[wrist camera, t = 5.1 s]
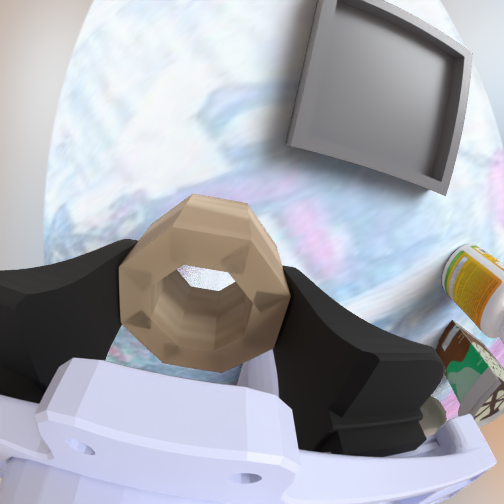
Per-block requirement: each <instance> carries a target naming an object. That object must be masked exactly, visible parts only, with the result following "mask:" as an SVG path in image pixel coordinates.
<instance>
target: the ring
mask: <svg viewBox="0 0 504 504" xmlns="http://www.w3.org/2000/svg"><path fill="white" fill-rule="evenodd" d="M182 265H189V266H195V267H200V268H206V269H212V270H218V271H224V272H228V273H229V274H230V275H231V276H232V278H233V279H234V280H235V281H236V282H234V283H232V284H231V285H229V286H227V287H226V288H224V289H222V290H221V291H214V290H208V289H202V288H196V287H191V286H190V285H189V284H188V283H187V281H186V280H185V279H184V278H183V277H182V276H181V274H180V273H179V272H178V271H177V270H176V269H178V268H179V267H181V266H182ZM119 295H120V316H121V324H122V325H123V326H124V327H125V328H126V329H127V330H128V331H129V332H130V333H131V334H133V335H134V336H135V337H136V338H137V339H138V340H139V341H140V342H141V343H142V344H143V345H144V346H145V347H146V348H147V349H148V350H149V351H150V352H152V353H153V354H154V355H155V356H156V357H157V358H158V359H159V360H160V361H161V362H163V363H165V364H171V365H176V366H182V367H187V368H193V369H200V370H206V371H213V372H220V373H223V372H225V371H227V370H229V369H232V368H234V367H236V366H238V365H240V364H242V363H245V362H247V361H249V360H251V359H253V358H255V357H257V356H259V355H261V354H263V353H265V352H267V351H269V350H271V349H273V348H274V346H275V343H276V340H277V337H278V334H279V331H280V328H281V325H282V322H283V319H284V316H285V313H286V310H287V307H288V304H289V301H290V298H291V294H290V291H289V287H288V284H287V280H286V277H285V274H284V271H283V267H282V263H281V260H280V257H279V253H278V250H277V246H276V244H275V243H274V241H273V240H272V239H271V237H270V236H269V234H268V233H267V231H266V230H265V228H264V227H263V225H262V224H261V222H260V221H259V220H258V218H257V217H256V215H255V214H254V212H253V211H252V209H251V208H250V207H249V205H248V204H247V203H243V202H237V201H232V200H226V199H220V198H215V197H209V196H203V195H197V194H192V195H191V196H189V197H188V198H186V199H185V200H184V201H182V202H181V203H180V204H178V205H177V206H175V207H174V208H173V209H171V210H170V211H169V212H167V213H166V214H165V215H163V216H162V217H161V218H159V219H158V220H157V221H155V222H154V223H153V224H152V225H151V226H150V227H149V228H148V230H147V231H146V232H145V233H144V235H143V236H142V237H141V238H140V240H139V241H138V242H137V244H136V245H135V246H134V248H133V249H132V250H131V251H130V253H129V254H128V255H127V257H126V258H125V259H124V261H123V262H122V263H121V265H120V266H119Z"/></svg>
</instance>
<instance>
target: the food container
mask: <svg viewBox="0 0 504 504" xmlns="http://www.w3.org/2000/svg"><path fill="white" fill-rule="evenodd" d="M436 353H437V354H438V355H439V357H440V358H441V360H442V362H443V364H444V373H445V375H446V377H447V379H448V381H449V383H450V385H451V387H452V389H453V391H454V393H455V395H456V397H457V399H458V401H459V403H460V407H459V410H458V415H459V416H463V415H466V414H471V415H472V417H473V419H474V420H475V422H476V424H477V426H478V427H482V426H484V425H486V424H488V423H490V422H492V421H493V420H495V419H496V418H498V417H499V416H500V415H502V414H503V413H504V369H503V367H502V366H501V365H500V363H499V362H498V361H497V360H496V358H495V357H494V356H493V355H492V354H491V352H490V351H489V350H488V349H487V348H486V346H485V345H484V344H483V343H482V342H481V341H480V340H479V339H477V338H476V337H475V336H473V335H472V334H471V333H469V332H468V331H467V330H465V329H464V328H463V327H461V326H460V325H459V324H457V323H456V322H455V321H453V320H452V321H451V323H450V324H449V325H448V327H447V328H446V329H445V331H444V333H443V335H442V336H441V338H440V340H439V343H438V346H437V349H436Z"/></svg>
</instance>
